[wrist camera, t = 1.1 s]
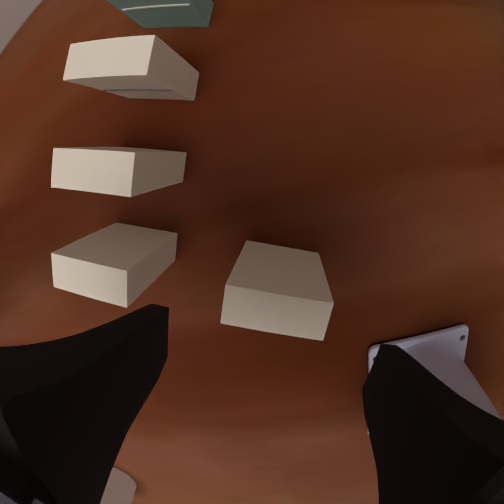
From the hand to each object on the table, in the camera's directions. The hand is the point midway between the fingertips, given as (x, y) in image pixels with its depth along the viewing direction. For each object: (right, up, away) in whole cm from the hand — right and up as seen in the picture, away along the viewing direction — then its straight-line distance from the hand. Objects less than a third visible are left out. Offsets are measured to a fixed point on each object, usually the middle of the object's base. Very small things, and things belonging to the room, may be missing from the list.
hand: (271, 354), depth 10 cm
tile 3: (-7, +9, +9) cm, 14 cm away
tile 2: (-6, +13, +7) cm, 16 cm away
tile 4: (-8, +4, +10) cm, 13 cm away
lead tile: (+1, +3, +9) cm, 10 cm away
